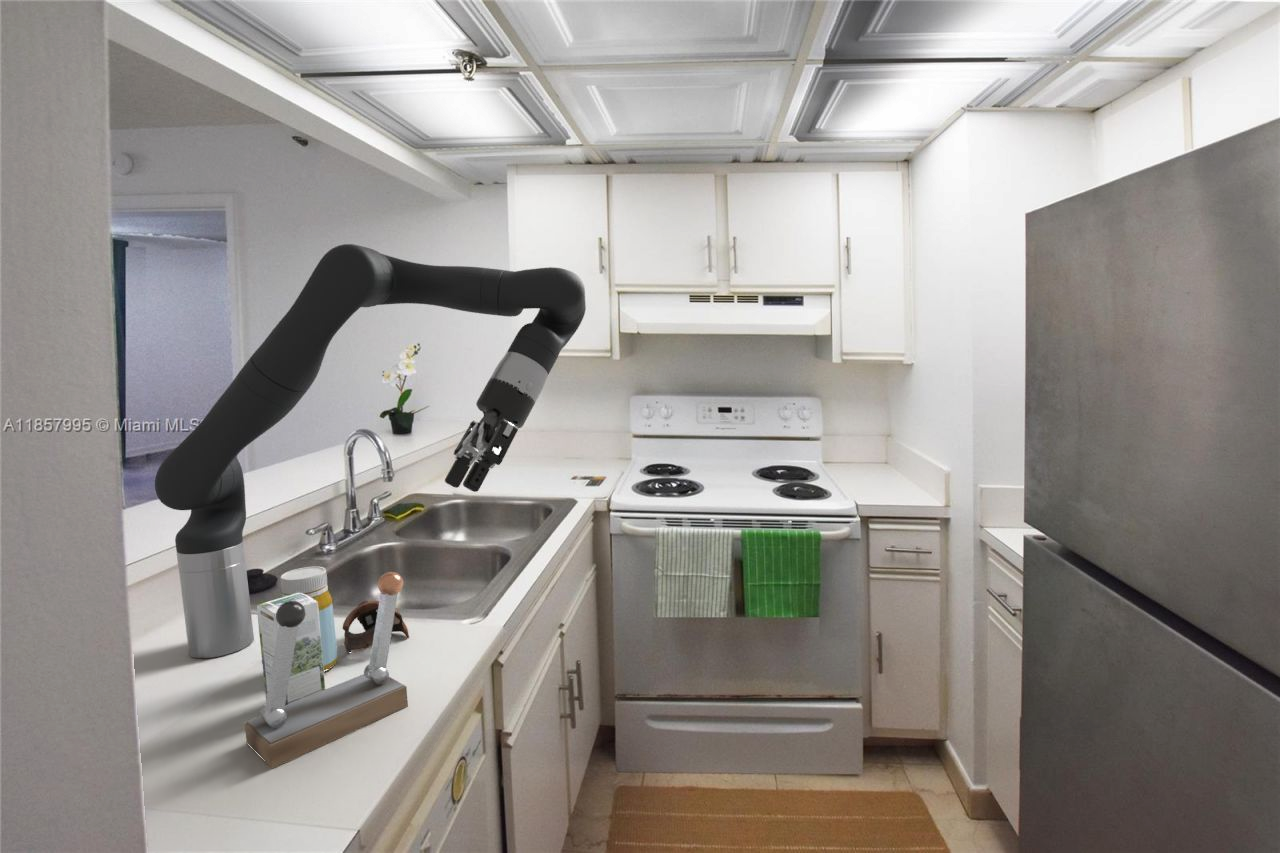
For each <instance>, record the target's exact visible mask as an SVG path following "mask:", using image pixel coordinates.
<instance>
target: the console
mask: <svg viewBox="0 0 1280 853" xmlns="http://www.w3.org/2000/svg"><path fill="white" fill-rule="evenodd" d="M407 707H409V702H408V690H407V686H406V685H404V684H403V683H401V682H399V681H398V680H396V679H394V678H392V677H391V676H389V677H388V680H387V681H386V682H385V683H384V684H381V685H379V684H376V683H375V682H373V681H371V680H370V679H368V678H366V677H365V675H364V673H363V674H360V675H358V676H355V677H353V678H351V679H348V680H345V681H343V682H341V683H338V684H335V685H332V686H331V687H328V688H325V690H323V691H320V692H318V693H315V694H313V695H310V696H308V697H305V698H303V699H300V700H298V701H295V702H293V703H290V704H288V705H285V708H284V711H285V712H286V714H287V720H286V722H285V723H284V725H282V726H281V727H279V728H272V727H271V726H270V725H268V724H267V723H266V722H265V721H264V720H263V719H262V718H261V717H260V715H258V716H256V717H253V718H251V719H248V720H246V721H245V722H244V732H245V737H246V738H245V739H246V744H247V743H248V744H249V745H250V746H251V747H252V748H253V749H254V750H255V751H256V752H257V753H258V754H259V755H260V756H261V757H262V758H263V759H264V760H265V761H264V760H263V759H262V758H261V757H260V758H261V759H262V760H263V761H264V763H265V764H267V765H268V767H269V768H270V769H272V768H273V769H274V768H275V769H276V768H277V767H279V766H282V765H283V763H284V764H286V763H288V762H290V761H292V760H295V759H297V758H298V757H301V756H304V755H305V754H308V753H309V752H312V751H314V750H316V749H318V748H321V747H322V746H323V747H324V746H325V745H327V744H329V743H331V742H333V741H336V740H338V739H340V738H342V737H344V736H346V735H348V734H351V733H353V732H355V731H357V730H360V729H361V728H362V729H363V728H364V727H367V726H368V725H370V724H373V723H375V722H378V721H380V720H382V719H384V718H386V717H388V716H390V715H392V714H394V713H396V712H397V713H398V711H401V710H403V709H406V708H407Z"/></svg>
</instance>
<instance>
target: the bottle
mask: <svg viewBox="0 0 1280 853" xmlns="http://www.w3.org/2000/svg"><path fill="white" fill-rule="evenodd" d="M328 589H329V587H328V576H327V569H326V567H324V566H306V567H300V568H295V569H292V570H288V571H286V572H285V573H283V574H281V576H280V590H281V591H282V592H281V596H282V597H285V596H289V595H292V594H296V593H303V594H305V595H308V596H309V597H311V598H313V599H314V600H316V601H317V602H318V609H319V621H320V633H321V645H322V657H323V668H324V670H326V669H329V668H330V667H332V666H333V665H334V666H335V665H336V663H337V662H338V648H337V637H336V636H337V635H336V627H335V616H334V607H333V598H332V596H331V594H330V592H329V590H328ZM334 666H333V667H334ZM333 667H332V668H333Z"/></svg>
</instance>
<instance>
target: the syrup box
mask: <svg viewBox="0 0 1280 853" xmlns="http://www.w3.org/2000/svg"><path fill="white" fill-rule="evenodd" d="M288 601H297V602H299V603H301V604H302V605H303V606H304V608H305V618H304V620H303V621H302V622H301V623H300V624H299V626H298V632H297V638H296V643H295V649H294V655H293V661H292V667H291V673H290V679H289V685H288V690H287V696H286V702H285V705H288V704H290V703H293V702H295V701H298V700H300V699H303V698H305V697H308V696H310V695H313V694H315V693H318V692H320V691H323V690H325V689H326V684H325V672H324V668H323V657H322V645H321V633H320V621H319V609H318V602H317V601H316V600H314V599H313V598H311V597H309V596H308V595H305V594H303V593H296V594H292V595H289V596H285V597H283V596H282V597H280V598H275V599H272V600H269V601H265V602H263V603H259V604H257V605H256V612H257V613H256V615H257V625H258V632H259V633H258V634H259V642H260V643H259V644H260V653H261V663H262V674H263V681H264V692H265V693H264V694H265V700H266V699H267V693H268V687H269V682H270V676H271V670H272V664H273V658H274V653H275V647H276V641H277V635H278V630H279V624H278V622H277V620H276V612H277V610H278V608H279V607H280V606H281V605H282V604H284V603H285V602H288Z"/></svg>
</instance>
